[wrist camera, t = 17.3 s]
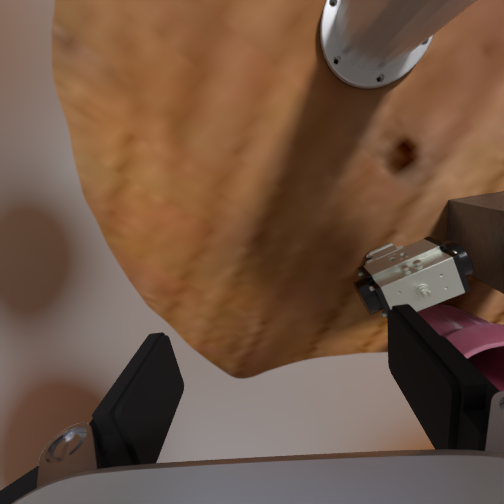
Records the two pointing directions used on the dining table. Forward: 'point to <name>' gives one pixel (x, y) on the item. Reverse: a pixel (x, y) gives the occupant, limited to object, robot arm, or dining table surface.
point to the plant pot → (471, 339)
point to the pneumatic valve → (413, 275)
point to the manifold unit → (480, 234)
